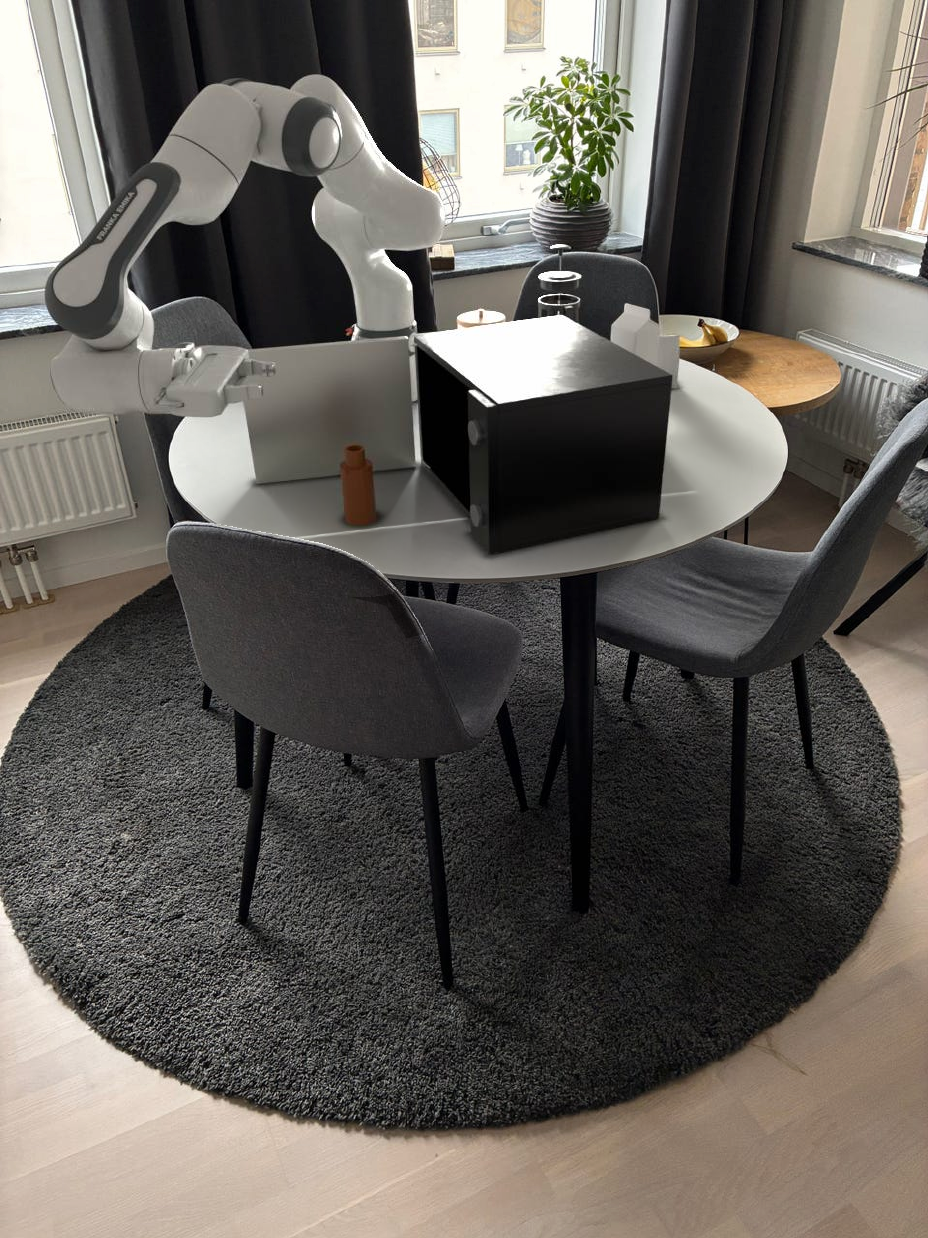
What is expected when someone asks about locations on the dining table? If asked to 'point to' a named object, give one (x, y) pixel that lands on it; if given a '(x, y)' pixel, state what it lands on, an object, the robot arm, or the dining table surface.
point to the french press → (559, 283)
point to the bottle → (358, 486)
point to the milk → (637, 333)
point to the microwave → (541, 429)
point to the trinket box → (479, 319)
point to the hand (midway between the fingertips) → (268, 379)
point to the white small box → (669, 356)
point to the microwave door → (331, 408)
